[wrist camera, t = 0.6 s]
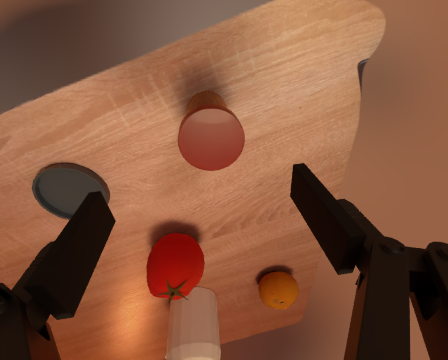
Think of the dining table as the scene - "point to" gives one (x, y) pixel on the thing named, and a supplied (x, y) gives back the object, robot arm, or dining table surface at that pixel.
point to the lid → (210, 137)
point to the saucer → (66, 188)
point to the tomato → (174, 266)
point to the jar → (204, 100)
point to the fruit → (278, 290)
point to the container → (194, 327)
